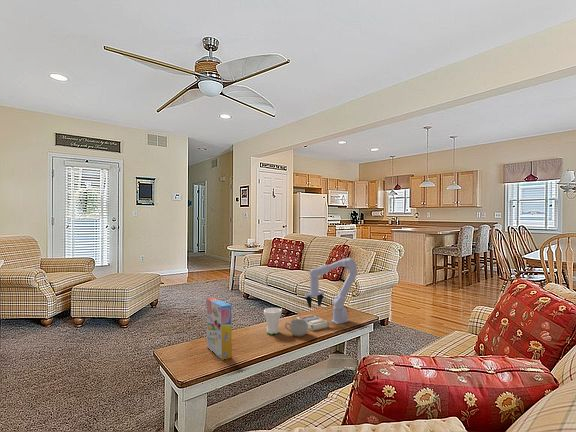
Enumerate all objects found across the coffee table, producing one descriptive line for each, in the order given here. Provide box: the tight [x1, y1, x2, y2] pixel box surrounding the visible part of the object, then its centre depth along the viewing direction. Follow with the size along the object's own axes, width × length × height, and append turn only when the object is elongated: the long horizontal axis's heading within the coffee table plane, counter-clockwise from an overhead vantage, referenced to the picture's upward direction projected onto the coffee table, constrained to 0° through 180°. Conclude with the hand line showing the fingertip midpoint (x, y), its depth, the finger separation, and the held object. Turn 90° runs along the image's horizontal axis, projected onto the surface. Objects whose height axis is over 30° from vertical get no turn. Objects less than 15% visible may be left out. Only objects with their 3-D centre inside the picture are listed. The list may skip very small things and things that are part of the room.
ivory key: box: [309, 318, 326, 325], centre depth 214 cm, size 10×4×2 cm, turn 120°
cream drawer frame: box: [295, 315, 330, 332], centre depth 219 cm, size 13×20×4 cm, turn 30°
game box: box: [205, 297, 233, 361], centre depth 176 cm, size 21×6×27 cm, turn 35°
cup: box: [263, 307, 283, 336], centre depth 205 cm, size 11×11×14 cm
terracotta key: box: [298, 313, 315, 319], centre depth 224 cm, size 10×4×2 cm, turn 120°
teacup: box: [284, 318, 309, 338], centre depth 201 cm, size 14×11×8 cm
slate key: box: [304, 315, 320, 322], centre depth 219 cm, size 10×4×2 cm, turn 120°
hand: (314, 306), depth 225 cm, fingers open, 7 cm apart
